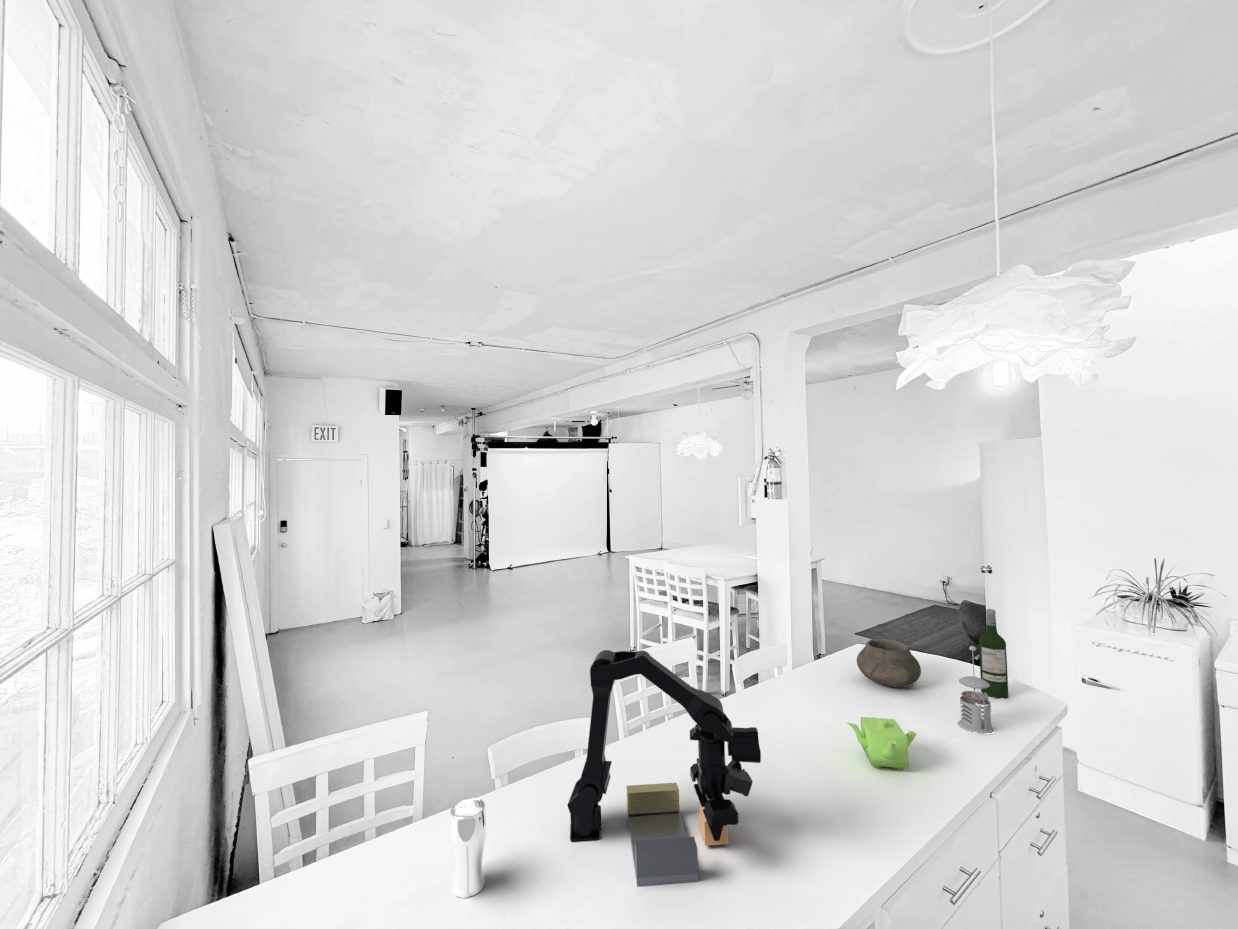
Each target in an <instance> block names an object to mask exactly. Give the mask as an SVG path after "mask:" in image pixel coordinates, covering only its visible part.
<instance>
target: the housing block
mask: <svg viewBox="0 0 1238 929" xmlns="http://www.w3.org/2000/svg"><path fill="white" fill-rule="evenodd" d="M703 809H705V807H702V806H699V810H698V811H699V812H698V813H699V817H698V818H699V832H700V834H701V838H702V840H703V844H704V846H705V847H706V846H718V845H719V846H721V845H728V844H729V825H725V826H723V829H722V833H721V837H720V840H719V841H714V838H713V836H712V833H711V831H710V828H709V825H708V823H707V820H706V818H705V815H704V812H703Z"/></svg>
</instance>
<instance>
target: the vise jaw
mask: <svg viewBox="0 0 1238 929" xmlns="http://www.w3.org/2000/svg"><path fill="white" fill-rule="evenodd" d="M627 811H628V814H643V813H658V812H673V811H679V812H680V789H679V785H678V782H663V783H651V784H649V783H648V784H635V785H633V784H631V785H626V812H627Z"/></svg>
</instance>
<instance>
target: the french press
mask: <svg viewBox="0 0 1238 929" xmlns="http://www.w3.org/2000/svg"><path fill="white" fill-rule="evenodd" d="M968 650H969V651H972V652H971V654H972V672H973V676H972V675H966V676H963V677H960V678H959V679H958V682H959V683H960V684H961V685H963V686H965V687H968V688H971V689H972V688H973V690H965V691H962V692H961V693H960V695H961V696H960V697H959V702H960V703H959V705H961V706H960V713H961V714H960V717H961V718H960V720H959V721H958V722H957V725H958V727H959V726H960V728H961V729H962V728H963V729H962V730H964V729H965V730H964V731H966V730H967V732H969V731H971V732H970V733H972V732H977V733H983V734H984V733H985V734H986V733H992V732H994V729H995V728H994V727H993V726H992V715H991V713H992V703H991V700H990V697H989V696H988V695H987V694H986V693H984V694H983V693H982V692H977V691H976V689H977V690H979V689H980V690H981V689H986V688H988V687H989V686H990V684H989V683H988V682H986V681H985V680H983V679H981V677H979V676H978V677H977V676H975V663H974V662H975V660H974V659H975V658H974V651H975V652H976V651H977V647H976V646H975V645H970V646H969V647H968ZM985 694H986V695H987V696H986V695H985ZM977 704H978V705H977ZM981 705H982V706H981ZM983 734H982V735H983Z"/></svg>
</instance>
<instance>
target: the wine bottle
mask: <svg viewBox="0 0 1238 929" xmlns="http://www.w3.org/2000/svg"><path fill="white" fill-rule="evenodd" d="M985 613H986V631H985V632H984V633H983V634H982V635H980V637H979V638H978V648H979V670H980V671H979V672H980V673H979V674H980V678H981V679H983V680H985V681H986V682H988V683H989V684H990V686H989V687H988V688H986V689H980V691H981V694H984V693H986V694H987V695H988V697H989V698H993V697H994V699H999V698H1004V699H1007V698H1009V680H1008V678H1009V677H1008V659H1007V642H1006V640H1005V639H1004V638H1003V637H1002V636H1001V635H1000V634H999V633H998V628H997V619H996V614H997V613H996V610H995V609H992V608H987V609H986V610H985ZM986 694H985V695H986ZM987 695H986V696H987Z"/></svg>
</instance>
